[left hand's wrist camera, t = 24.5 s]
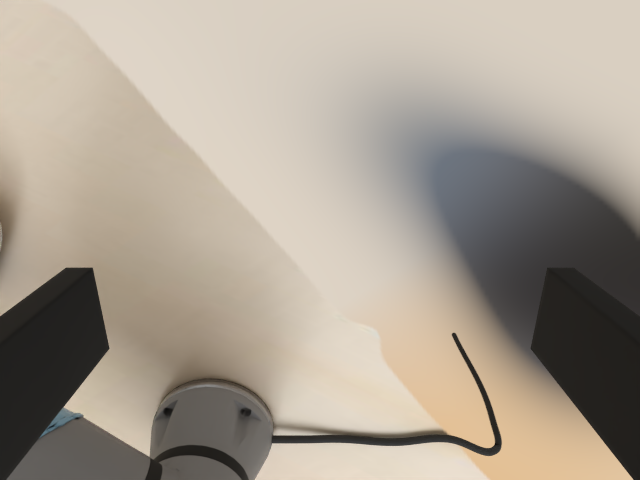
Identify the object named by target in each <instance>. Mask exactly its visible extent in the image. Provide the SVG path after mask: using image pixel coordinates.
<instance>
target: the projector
mask: <svg viewBox="0 0 640 480" xmlns="http://www.w3.org/2000/svg"><path fill="white" fill-rule="evenodd" d="M1 245H2V227H1V223H0V250H1Z"/></svg>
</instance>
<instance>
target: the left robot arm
mask: <svg viewBox="0 0 640 480" xmlns="http://www.w3.org/2000/svg"><path fill="white" fill-rule="evenodd" d="M452 337H453V339H454V341H455V343H456V345H457V347H458V349H459V351H460V353H461V355H462V357H463V359H464V360H465V362H466V364H467V366H468V368H469V370H470V372H471V373H472V375H473V377H474V379H475V381H476V384H477V386H478V388H479V390H480V393H481V395H482V398H483V400H484V403H485V406H486V409H487V413H488V416H489V420H490V424H491V427H492V430H493V434H494V438H495V444H494V446H493V447H492V448H483V447H480V446H477V445H475V444H473V443H471V442H468V441H466V440H464V439H461V438H458V437H455V436H450V435H424V436H416V437H408V438H373V437H361V436H348V435H313V436H273V430H274V427H273V420H272V417H271V414H270V412H269V410H268V408H267V407H266V405H265V404H264V403H263V401H262V400H261V399H260V398H259V397H258V396H257V395H255V394H254V393H253V392H251V391H250V390H248V389H246V388H245V387H243V386H240V385H238V384H235V383H232V382H229V381H224V380H218V379H202V380H196V381H191V382H188V383H185V384H183V385H181V386H179V387H177V388H176V389H174V390H173V391H171V392H170V393H169V394H168V395H167V396H166V397H165V398H164V400H163V401H162V403H161V404H160V406H159V408H158V410H157V412H156V415H155V417H154V421H153V425H152V431H151V446H150V457H148V456H147V455H145V454H143V453H142V452H140V451H138V450H137V449H135V448H133V447H131V446H130V445H128V444H126V443H125V442H123V441H121V440H120V439H118V438H116V437H115V436H113V435H111V434H110V433H108V432H106V431H105V430H103V429H102V428H100V427H98V426H97V425H95V424H93V423H92V422H90V421H88V420H87V419H85V418H83V415H82V414H80V413H73V412H71V411H69V410H67V409H65V408H63V407H64V406H65V404H66V403H67V402H68V401H69V399H70V398H71V397H72V396H73V394H74V393H75V392H76V390H77V389H78V388H79V387H80V385H81V384H82V383H83V381H84V380H85V379H86V378H87V376H88V375H89V374H90V373H91V371H92V370H93V369H94V367H95V366H96V365H97V364H98V362H99V361H100V360H101V359H102V357H103V356H104V355H105V353H106V352H107V351H108V350H109V345H108V340H107V335H106V330H105V325H104V320H103V316H102V311H101V306H100V301H99V296H98V291H97V287H96V282H95V277H94V272H93V268H65V269H64V270H62V271H61V272H60V273H58V274H57V275H56V276H54V277H53V278H52V279H50V280H49V281H48V282H46V283H45V284H44V285H42V286H41V287H39V288H38V289H37V290H35V291H34V292H33V293H31V294H30V295H29V296H27V297H26V298H25V299H23V300H22V301H20V302H19V303H18V304H16V305H15V306H14V307H12V308H11V309H10V310H8V311H7V312H6V313H4V314H3V315H2V316H0V480H255V478H256V476H257V474H258V473H259V471H260V469H261V467H262V465H263V464H264V462H265V460H266V458H267V456H268V454H269V451H270V449H271V445H272V443H356V444H367V445H381V446H403V445H413V444H420V443H429V442H448V443H454V444H457V445H460V446H463V447H465V448H467V449H469V450H472V451H474V452H476V453H479V454H481V455H485V456H492V455H495V454H497V453H498V452H499V451H500V449H501V446H502V439H501V435H500V431H499V428H498V425H497V422H496V418H495V415H494V411H493V408H492V405H491V402H490V400H489V397H488V395H487V392H486V390H485V388H484V386H483V384H482V381H481V380H480V377H479V376H478V374H477V372H476V370H475V368H474V366H473V365H472V363H471V361H470V359H469V358H468V356H467V354H466V352H465V350H464V348H463V347H462V345H461V343H460V341H459V339H458V337H457V335H456V333H452ZM531 350H532V351H533V352H534V353H535V355H536V356H537V357H538V359H539V360H540V361H541V362H542V364H543V365H544V366H545V367H546V369H547V370H548V371H549V373H550V374H551V375H552V376H553V378H554V379H555V380H556V381H557V383H558V384H559V385H560V387H561V388H562V389H563V390H564V392H565V393H566V394H567V396H568V397H569V398H570V399H571V401H572V402H573V403H574V404H575V406H576V407H577V408H578V409H579V411H580V412H581V413H582V415H583V416H584V417H585V418H586V420H587V421H588V422H589V423H590V425H591V426H592V427H593V429H594V430H595V431H596V432H597V434H598V435H599V436H600V438H601V439H602V440H603V441H604V443H605V444H606V445H607V446H608V448H609V449H610V450H611V452H612V453H613V454H614V455H615V457H616V458H617V459H618V460H619V462H620V463H621V464H622V466H623V467H624V468H625V469H626V471H627V472H628V473H629V474H630V476H631V477H632V478H633V480H640V316H638V315H637V314H636V313H634V312H633V311H632V310H630V309H629V308H628V307H626V306H625V305H624V304H622V303H621V302H619V301H618V300H617V299H615V298H614V297H613V296H611V295H610V294H609V293H607V292H606V291H605V290H603V289H602V288H600V287H599V286H598V285H596V284H595V283H594V282H592V281H591V280H590V279H588V278H587V277H586V276H584V275H583V274H582V273H580V272H579V271H578V270H576V269H575V268H547V272H546V277H545V282H544V287H543V291H542V296H541V301H540V306H539V311H538V316H537V320H536V325H535V330H534V335H533V340H532V345H531Z"/></svg>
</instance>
